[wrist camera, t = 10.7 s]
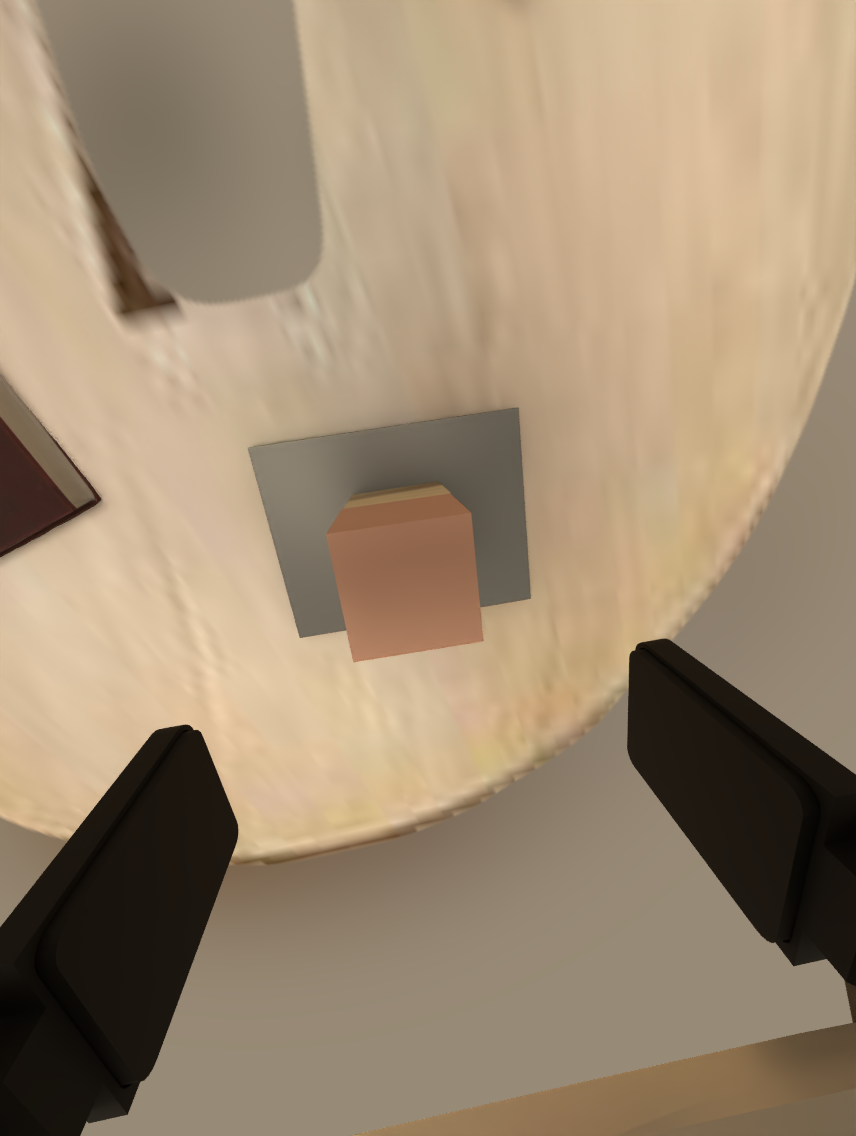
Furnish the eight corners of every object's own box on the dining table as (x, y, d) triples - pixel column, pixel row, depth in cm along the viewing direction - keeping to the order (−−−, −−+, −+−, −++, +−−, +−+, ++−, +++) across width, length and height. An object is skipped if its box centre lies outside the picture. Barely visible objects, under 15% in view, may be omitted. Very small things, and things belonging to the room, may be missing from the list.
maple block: (352, 494, 28) (342, 509, 22) (437, 481, 28) (450, 492, 22) (368, 576, 30) (363, 609, 24) (448, 562, 30) (462, 592, 24)
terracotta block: (341, 509, 22) (325, 534, 16) (450, 493, 22) (471, 512, 17) (361, 608, 24) (353, 662, 18) (461, 593, 24) (483, 641, 19)
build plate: (252, 447, 27) (247, 447, 26) (513, 408, 28) (518, 407, 27) (302, 631, 32) (299, 638, 31) (526, 593, 32) (530, 598, 31)
